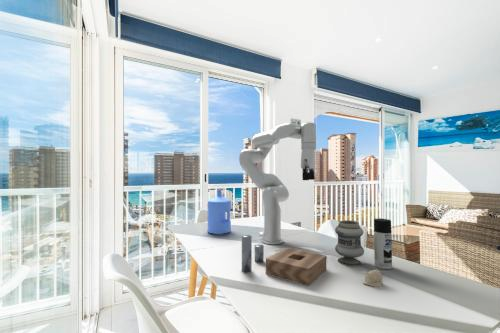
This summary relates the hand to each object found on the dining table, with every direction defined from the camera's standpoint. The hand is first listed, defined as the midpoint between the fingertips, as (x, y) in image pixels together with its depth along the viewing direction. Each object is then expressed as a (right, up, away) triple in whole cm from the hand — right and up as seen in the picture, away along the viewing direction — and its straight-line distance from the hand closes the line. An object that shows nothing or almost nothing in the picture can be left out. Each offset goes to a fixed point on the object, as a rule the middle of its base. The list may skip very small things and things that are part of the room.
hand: (308, 179), depth 132 cm
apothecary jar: (+14, -36, -18) cm, 43 cm away
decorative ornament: (+14, -36, -40) cm, 55 cm away
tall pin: (-32, -36, -28) cm, 55 cm away
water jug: (-51, -37, +39) cm, 74 cm away
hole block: (-11, -36, -29) cm, 47 cm away
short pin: (-26, -36, -17) cm, 47 cm away
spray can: (+26, -36, -23) cm, 50 cm away
